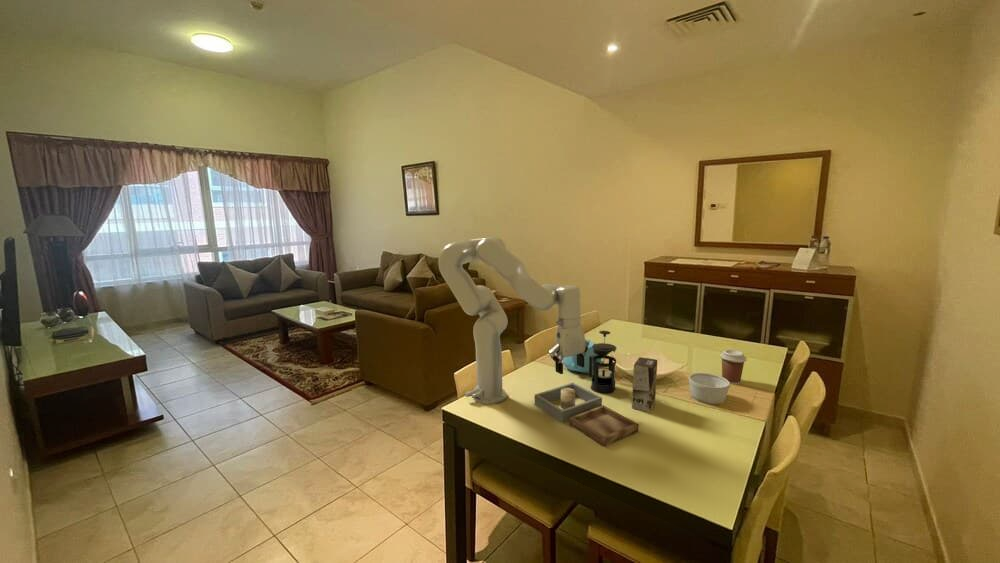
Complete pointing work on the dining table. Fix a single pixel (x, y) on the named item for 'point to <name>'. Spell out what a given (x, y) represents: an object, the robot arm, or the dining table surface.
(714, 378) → the ramekin
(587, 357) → the decorative pot
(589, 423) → the walnut tray
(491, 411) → the dining table surface
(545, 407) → the gray square frame
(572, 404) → the maple spool
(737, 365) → the coffee cup
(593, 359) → the french press
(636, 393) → the coffee box
